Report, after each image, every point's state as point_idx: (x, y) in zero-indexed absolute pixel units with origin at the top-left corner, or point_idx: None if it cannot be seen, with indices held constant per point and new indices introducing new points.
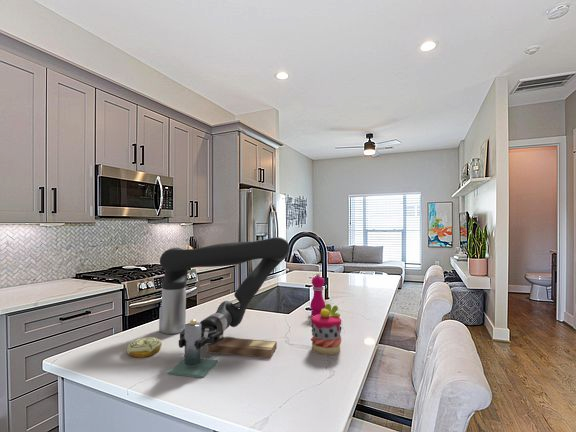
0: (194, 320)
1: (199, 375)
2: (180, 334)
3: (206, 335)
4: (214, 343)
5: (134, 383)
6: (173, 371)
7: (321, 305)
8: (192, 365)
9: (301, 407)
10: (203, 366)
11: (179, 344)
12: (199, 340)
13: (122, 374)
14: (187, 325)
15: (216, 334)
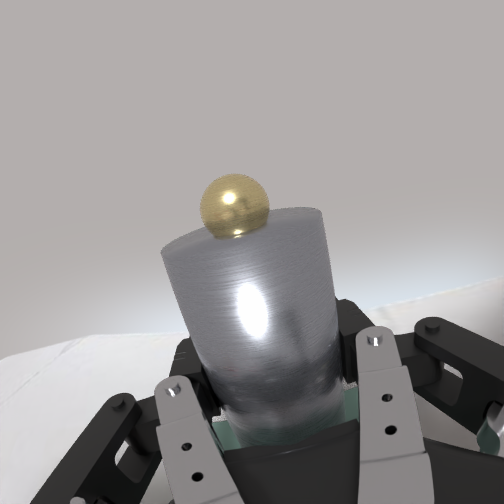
0: (210, 185)
1: (222, 422)
2: (429, 318)
3: (170, 407)
4: (130, 453)
5: (395, 318)
6: (351, 396)
7: None
8: None
9: (14, 376)
10: None
11: None
12: None
13: (473, 311)
14: (279, 212)
15: (82, 442)
